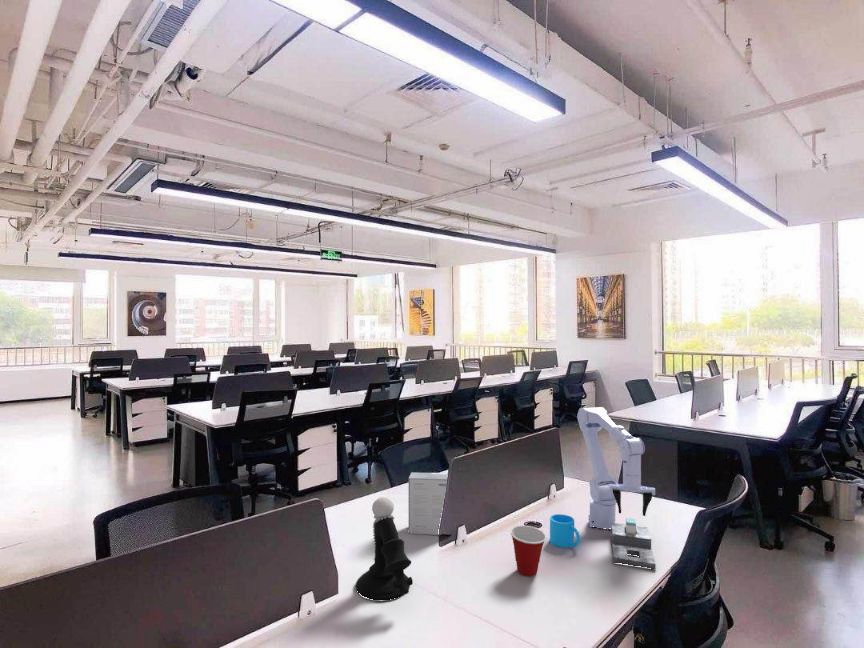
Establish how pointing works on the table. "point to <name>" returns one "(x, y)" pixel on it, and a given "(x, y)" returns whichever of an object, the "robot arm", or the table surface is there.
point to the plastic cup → (527, 548)
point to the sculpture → (385, 558)
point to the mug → (563, 531)
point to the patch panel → (632, 546)
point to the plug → (630, 526)
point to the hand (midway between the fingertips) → (631, 513)
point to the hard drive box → (426, 502)
